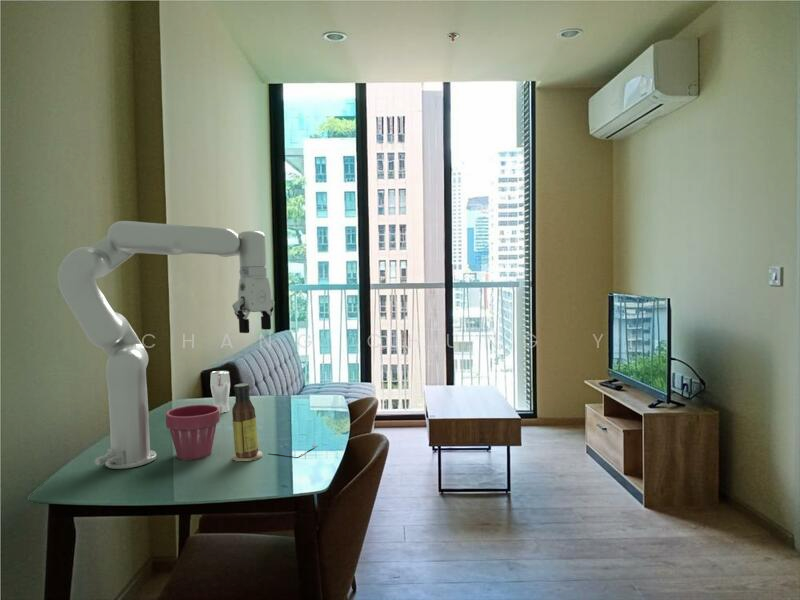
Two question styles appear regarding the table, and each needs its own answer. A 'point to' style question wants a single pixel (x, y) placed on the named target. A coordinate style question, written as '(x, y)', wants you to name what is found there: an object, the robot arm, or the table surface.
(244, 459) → the coaster
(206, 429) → the plant pot
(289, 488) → the table surface
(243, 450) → the sauce bottle
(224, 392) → the beer glass
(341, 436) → the table surface
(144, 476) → the table surface
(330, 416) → the table surface
